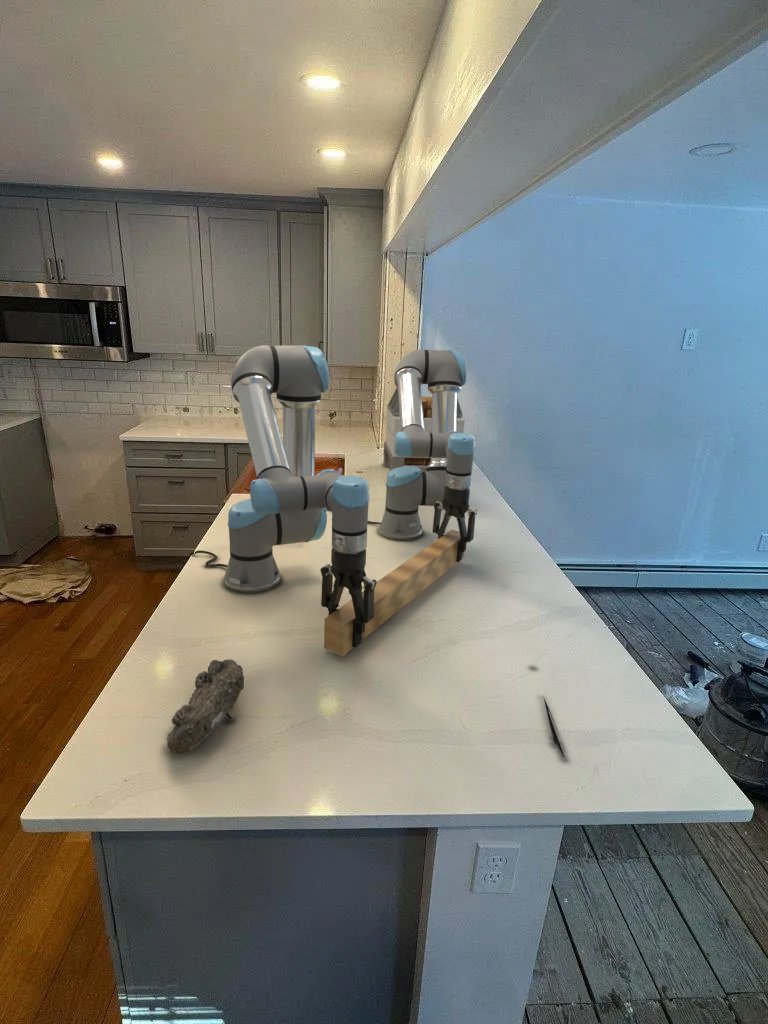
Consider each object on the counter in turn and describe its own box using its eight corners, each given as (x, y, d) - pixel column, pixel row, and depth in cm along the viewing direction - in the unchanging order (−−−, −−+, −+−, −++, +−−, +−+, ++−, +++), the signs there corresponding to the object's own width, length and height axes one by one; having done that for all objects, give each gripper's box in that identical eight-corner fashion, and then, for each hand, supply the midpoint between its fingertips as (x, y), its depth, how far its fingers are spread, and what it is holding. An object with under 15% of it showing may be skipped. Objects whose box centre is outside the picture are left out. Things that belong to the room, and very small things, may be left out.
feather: (533, 672, 128) (539, 666, 127) (564, 762, 101) (571, 754, 101) (527, 668, 128) (533, 662, 127) (556, 757, 101) (563, 750, 100)
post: (449, 551, 181) (451, 529, 178) (464, 556, 178) (467, 533, 175) (323, 648, 127) (324, 618, 125) (342, 656, 125) (343, 626, 122)
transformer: (382, 463, 289) (386, 382, 275) (445, 464, 293) (451, 384, 279) (390, 482, 257) (394, 392, 243) (460, 483, 261) (468, 394, 247)
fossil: (192, 660, 117) (244, 628, 112) (224, 691, 120) (276, 661, 115) (142, 746, 98) (202, 712, 93) (182, 779, 101) (242, 748, 96)
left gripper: (304, 542, 123) (304, 634, 131) (375, 565, 114) (370, 662, 123) (325, 532, 129) (323, 620, 137) (394, 553, 120) (388, 645, 129)
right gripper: (423, 483, 168) (418, 554, 177) (481, 496, 160) (473, 570, 168) (435, 477, 174) (429, 546, 183) (491, 489, 166) (482, 561, 174)
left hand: (346, 639), depth 130 cm, fingers closed on post, 5 cm apart
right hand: (450, 557), depth 175 cm, fingers closed on post, 5 cm apart
